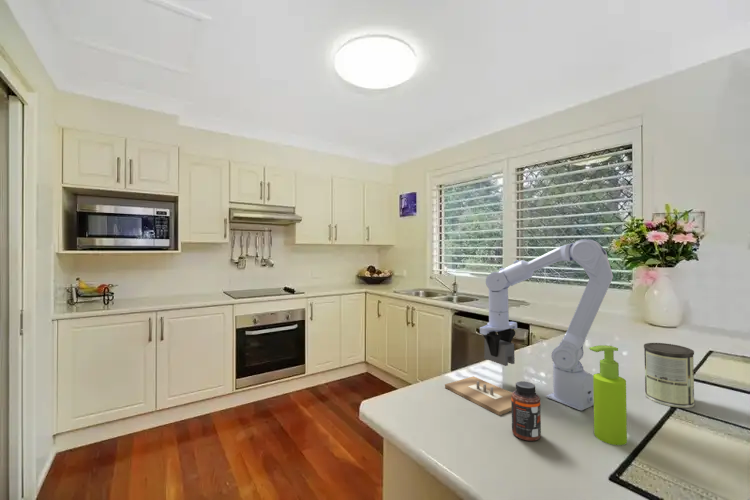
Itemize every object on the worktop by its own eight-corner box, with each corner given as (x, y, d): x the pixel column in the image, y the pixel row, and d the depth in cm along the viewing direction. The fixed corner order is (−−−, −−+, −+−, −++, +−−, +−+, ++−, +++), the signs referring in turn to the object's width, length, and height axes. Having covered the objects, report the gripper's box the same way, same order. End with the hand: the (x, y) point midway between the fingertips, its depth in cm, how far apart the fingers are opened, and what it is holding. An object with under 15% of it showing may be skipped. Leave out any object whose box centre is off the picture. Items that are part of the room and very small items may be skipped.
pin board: (529, 403, 90) (529, 392, 90) (499, 415, 84) (499, 403, 84) (473, 379, 107) (473, 370, 107) (444, 387, 101) (444, 377, 101)
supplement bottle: (544, 443, 72) (543, 390, 72) (514, 441, 73) (514, 388, 73) (536, 429, 77) (536, 380, 77) (509, 426, 79) (508, 378, 79)
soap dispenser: (583, 431, 76) (582, 343, 76) (612, 429, 77) (610, 342, 77) (603, 446, 70) (601, 351, 70) (634, 444, 71) (632, 349, 71)
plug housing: (514, 363, 101) (514, 343, 101) (505, 365, 99) (505, 345, 99) (493, 356, 108) (493, 337, 108) (484, 358, 106) (484, 339, 106)
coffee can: (638, 389, 98) (637, 341, 98) (682, 394, 94) (681, 344, 94) (654, 405, 88) (653, 351, 88) (704, 410, 85) (703, 355, 85)
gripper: (503, 306, 111) (504, 347, 111) (471, 311, 104) (472, 355, 104) (522, 309, 105) (523, 353, 105) (490, 314, 97) (490, 361, 97)
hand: (499, 354), depth 104 cm, fingers closed on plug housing, 4 cm apart
